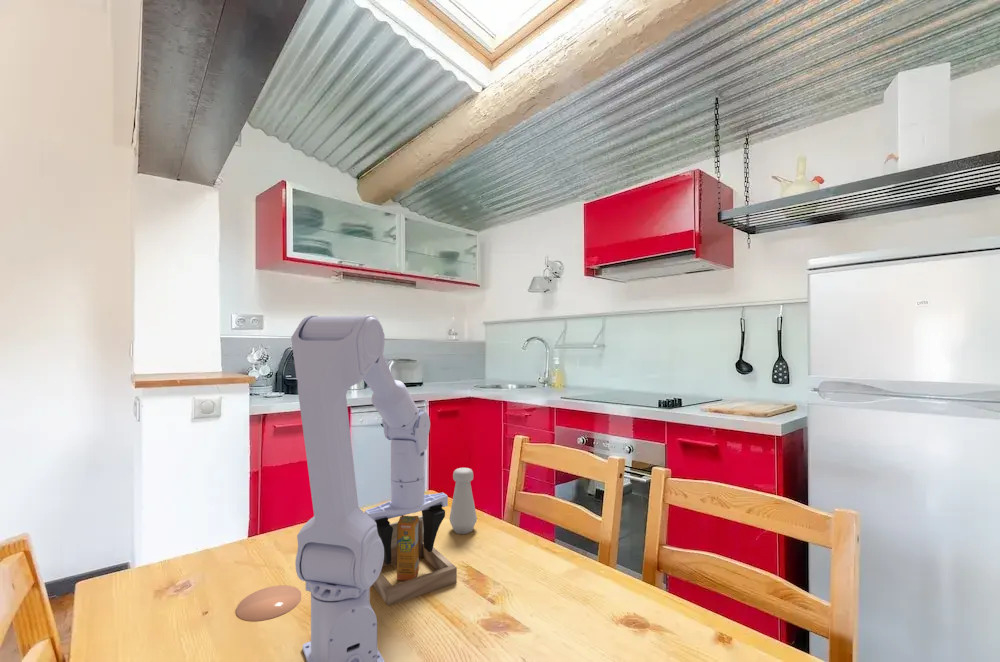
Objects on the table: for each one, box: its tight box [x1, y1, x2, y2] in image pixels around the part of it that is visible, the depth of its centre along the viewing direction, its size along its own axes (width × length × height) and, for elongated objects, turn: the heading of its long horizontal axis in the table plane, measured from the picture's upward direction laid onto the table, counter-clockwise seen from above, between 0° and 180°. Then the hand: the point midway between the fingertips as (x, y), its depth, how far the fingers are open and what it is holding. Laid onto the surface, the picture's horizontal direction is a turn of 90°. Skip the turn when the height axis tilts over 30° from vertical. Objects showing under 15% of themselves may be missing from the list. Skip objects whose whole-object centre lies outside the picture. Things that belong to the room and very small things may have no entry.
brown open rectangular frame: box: [372, 515, 458, 607], centre depth 79 cm, size 13×12×7 cm
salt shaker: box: [449, 467, 478, 535], centre depth 97 cm, size 6×6×13 cm
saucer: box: [235, 584, 302, 622], centre depth 70 cm, size 9×9×1 cm
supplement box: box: [396, 515, 420, 581], centre depth 79 cm, size 3×3×10 cm
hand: (408, 555), depth 79 cm, fingers open, 7 cm apart
